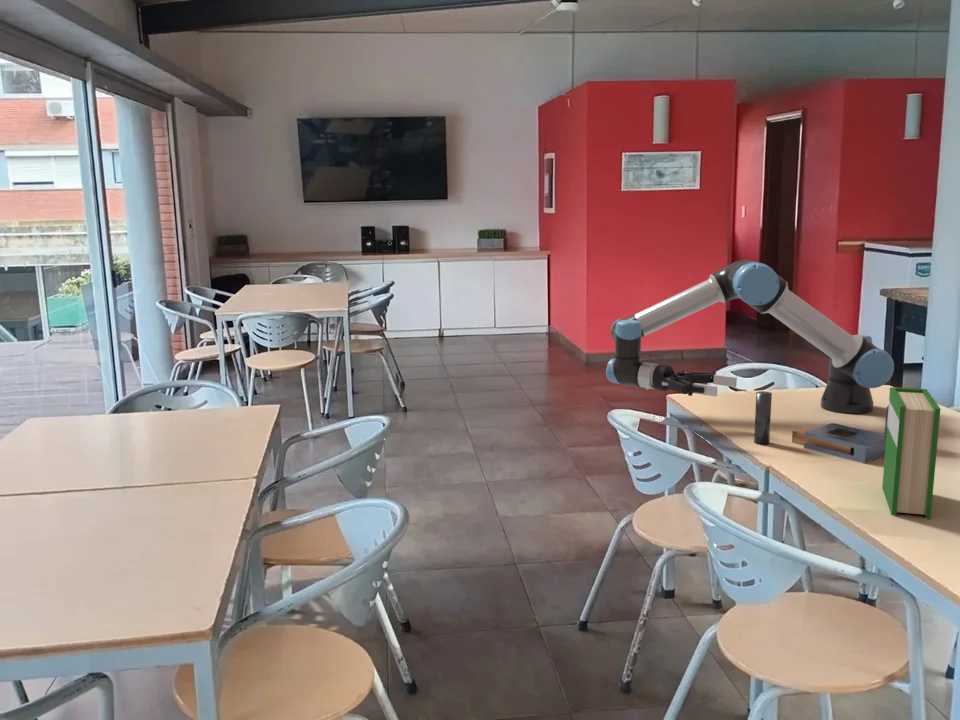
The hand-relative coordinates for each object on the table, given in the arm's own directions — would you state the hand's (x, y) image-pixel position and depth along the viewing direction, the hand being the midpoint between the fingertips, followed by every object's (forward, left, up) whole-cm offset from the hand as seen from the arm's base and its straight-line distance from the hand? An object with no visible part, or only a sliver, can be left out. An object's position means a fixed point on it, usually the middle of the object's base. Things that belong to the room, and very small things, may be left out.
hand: (726, 386), depth 235 cm
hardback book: (+11, +57, -15) cm, 59 cm away
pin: (-3, +10, -14) cm, 18 cm away
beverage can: (-28, +35, -15) cm, 47 cm away
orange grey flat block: (-14, +27, -14) cm, 34 cm away
